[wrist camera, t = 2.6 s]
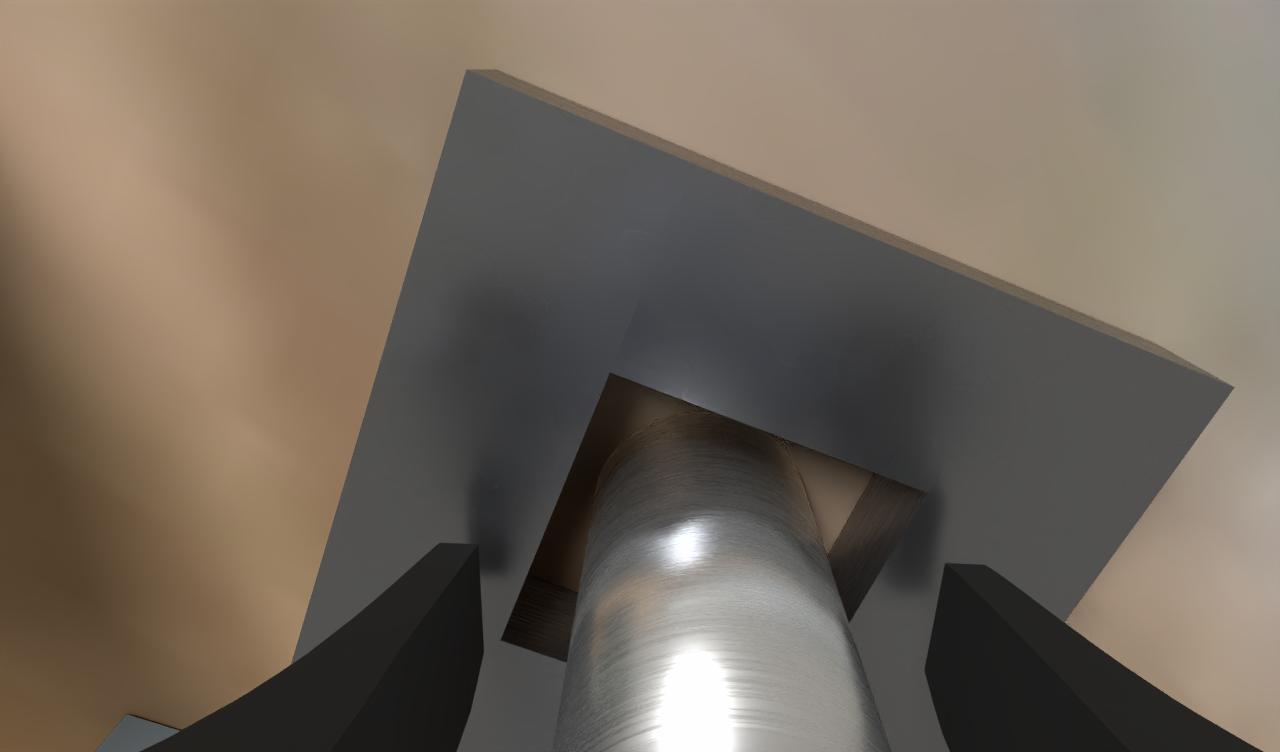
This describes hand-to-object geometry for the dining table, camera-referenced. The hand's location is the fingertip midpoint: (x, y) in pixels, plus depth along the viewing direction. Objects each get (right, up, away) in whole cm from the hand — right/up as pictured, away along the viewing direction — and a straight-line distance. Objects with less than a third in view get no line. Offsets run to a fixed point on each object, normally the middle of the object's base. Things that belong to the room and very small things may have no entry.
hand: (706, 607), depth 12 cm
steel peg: (0, +1, +3) cm, 3 cm away
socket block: (0, +1, +3) cm, 3 cm away
